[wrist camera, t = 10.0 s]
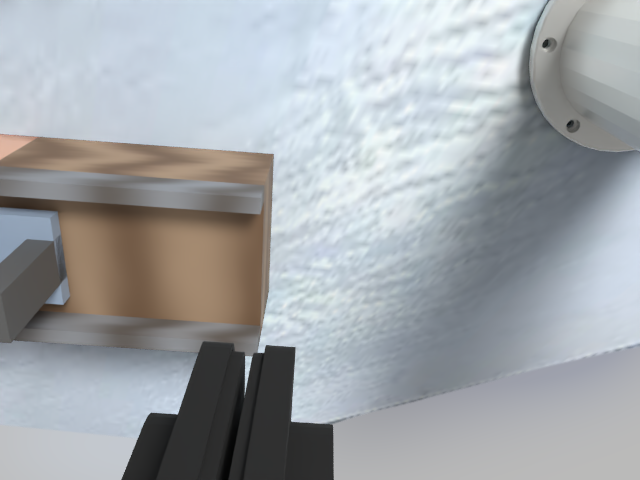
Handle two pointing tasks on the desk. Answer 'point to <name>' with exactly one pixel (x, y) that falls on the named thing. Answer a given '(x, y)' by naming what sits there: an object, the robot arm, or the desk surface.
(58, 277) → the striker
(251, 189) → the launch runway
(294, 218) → the desk surface
